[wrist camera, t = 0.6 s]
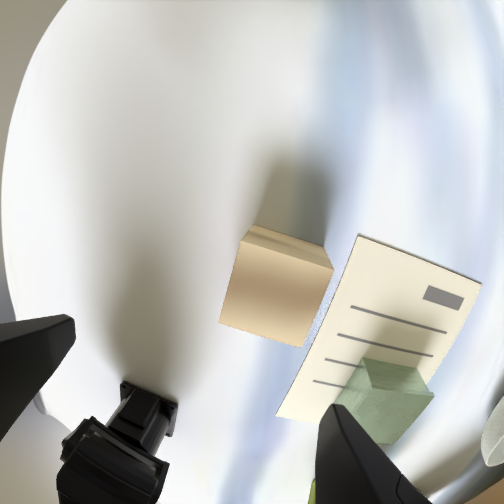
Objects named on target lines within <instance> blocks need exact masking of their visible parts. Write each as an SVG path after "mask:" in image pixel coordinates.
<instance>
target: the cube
mask: <svg viewBox="0 0 504 504" xmlns="http://www.w3.org/2000/svg"><path fill="white" fill-rule="evenodd" d="M333 272H334V268H333V266H332V264H331V262H330V260H329V258H328V255H327V253H326V251H325V249H324V247H322V246H319V245H316V244H313V243H310V242H306V241H303V240H300V239H297V238H294V237H291V236H288V235H285V234H281V233H278V232H275V231H272V230H269V229H265V228H262V227H259V226H256V225H253V226H252V227H251V228H250V230H249V231H248V232H247V233H246V235H245V236H244V237H243V239H242V240H241V242H240V246H239V249H238V253H237V256H236V260H235V263H234V267H233V271H232V274H231V278H230V281H229V285H228V289H227V292H226V296H225V299H224V303H223V307H222V310H221V314H220V318H219V321H218V323H221V324H224V325H227V326H230V327H233V328H236V329H239V330H242V331H246V332H249V333H252V334H255V335H258V336H262V337H265V338H268V339H272V340H275V341H279V342H282V343H286V344H289V345H293V346H297V347H300V348H301V347H302V345H303V343H304V341H305V338H306V336H307V334H308V332H309V330H310V327H311V325H312V323H313V320H314V318H315V316H316V314H317V311H318V309H319V306H320V304H321V302H322V299H323V297H324V294H325V292H326V290H327V287H328V285H329V282H330V280H331V277H332V274H333Z"/></svg>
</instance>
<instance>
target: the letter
mask: <svg viewBox="0 0 504 504" xmlns="http://www.w3.org/2000/svg"><path fill="white" fill-rule="evenodd" d="M481 287H482V285H481V284H478V283H476V282H474V281H472V280H469V279H467V278H465V277H462V276H460V275H458V274H455V273H453V272H450V271H448V270H446V269H443V268H441V267H438V266H436V265H433V264H431V263H428V262H426V261H423V260H421V259H418V258H416V257H413V256H411V255H408V254H406V253H403V252H400V251H398V250H395V249H392V248H390V247H387V246H384V245H382V244H379V243H376V242H374V241H371V240H368V239H365V238H362V237H360V236H357V239H356V242H355V244H354V247H353V250H352V252H351V255H350V258H349V260H348V263H347V266H346V268H345V271H344V273H343V276H342V278H341V281H340V283H339V285H338V288H337V290H336V293H335V295H334V297H333V300H332V302H331V304H330V307H329V309H328V311H327V314H326V316H325V318H324V320H323V323H322V325H321V327H320V329H319V331H318V333H317V336H316V338H315V340H314V342H313V344H312V346H311V348H310V350H309V352H308V354H307V356H306V358H305V360H304V362H303V364H302V366H301V368H300V370H299V372H298V374H297V376H296V378H295V380H294V382H293V384H292V386H291V388H290V390H289V391H288V393H287V395H286V397H285V399H284V401H283V402H282V404H281V406H280V408H279V410H278V411H277V413H276V415H275V416H279V417H284V418H288V419H293V420H298V421H303V422H308V423H314V424H319V423H320V420H321V418H322V417H323V415H324V413H325V412H326V410H327V409H328V407H329V405H330V404H332V403H334V402H335V400H336V399H337V397H338V396H339V394H340V393H341V391H342V390H343V388H344V387H345V385H346V384H347V382H348V380H349V379H350V377H351V376H352V374H353V372H354V371H355V369H356V367H357V366H358V364H359V362H360V361H361V359H362V357H363V358H368V359H372V360H377V361H382V362H387V363H392V364H397V365H402V366H407V367H413V368H417V369H418V371H419V373H420V375H421V377H422V379H423V380H424V382H425V384H427V383H428V381H429V380H430V378H431V377H432V376H433V374H434V373H435V371H436V370H437V368H438V367H439V365H440V363H441V362H442V360H443V359H444V357H445V356H446V354H447V352H448V351H449V349H450V347H451V346H452V344H453V342H454V340H455V339H456V337H457V335H458V333H459V332H460V330H461V328H462V326H463V324H464V322H465V320H466V318H467V316H468V314H469V312H470V310H471V308H472V306H473V304H474V302H475V300H476V298H477V296H478V293H479V291H480V289H481Z"/></svg>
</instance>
